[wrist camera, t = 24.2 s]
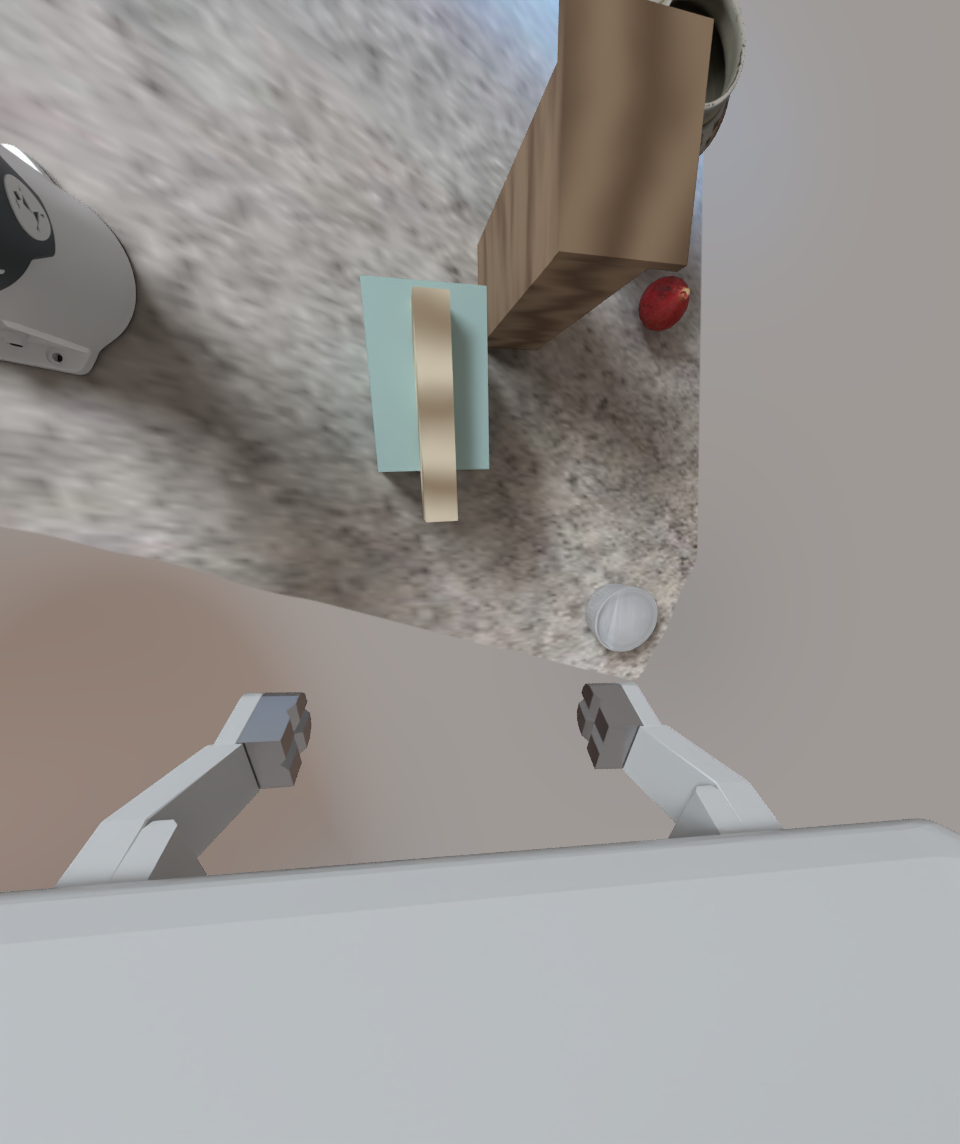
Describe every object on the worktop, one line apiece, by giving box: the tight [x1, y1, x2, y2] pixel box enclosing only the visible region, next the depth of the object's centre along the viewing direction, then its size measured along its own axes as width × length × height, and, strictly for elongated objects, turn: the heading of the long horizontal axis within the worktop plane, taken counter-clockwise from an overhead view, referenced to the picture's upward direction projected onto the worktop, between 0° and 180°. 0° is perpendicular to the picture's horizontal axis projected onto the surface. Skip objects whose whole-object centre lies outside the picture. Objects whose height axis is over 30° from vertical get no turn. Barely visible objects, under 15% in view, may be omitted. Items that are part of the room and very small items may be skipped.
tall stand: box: [478, 0, 714, 350], centre depth 37 cm, size 10×13×26 cm
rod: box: [410, 286, 458, 522], centre depth 35 cm, size 19×3×3 cm, turn 1°
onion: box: [639, 276, 690, 331], centre depth 50 cm, size 6×6×8 cm
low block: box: [360, 275, 489, 472], centre depth 43 cm, size 11×16×15 cm
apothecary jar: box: [649, 0, 746, 156], centre depth 39 cm, size 12×12×18 cm
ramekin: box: [586, 583, 658, 652], centre depth 63 cm, size 11×11×5 cm
